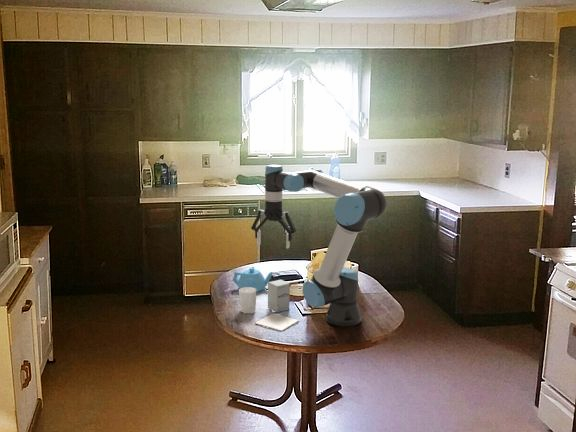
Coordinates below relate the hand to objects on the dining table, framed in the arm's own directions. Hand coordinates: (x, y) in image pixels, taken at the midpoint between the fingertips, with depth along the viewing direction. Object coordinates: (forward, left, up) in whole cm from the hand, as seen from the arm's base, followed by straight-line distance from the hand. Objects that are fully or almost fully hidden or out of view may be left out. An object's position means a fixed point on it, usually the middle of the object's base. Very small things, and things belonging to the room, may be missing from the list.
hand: (273, 246), depth 277 cm
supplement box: (-3, 0, -29) cm, 29 cm away
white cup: (+7, +10, -29) cm, 32 cm away
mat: (-12, +14, -29) cm, 34 cm away
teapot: (+24, -15, -29) cm, 41 cm away
